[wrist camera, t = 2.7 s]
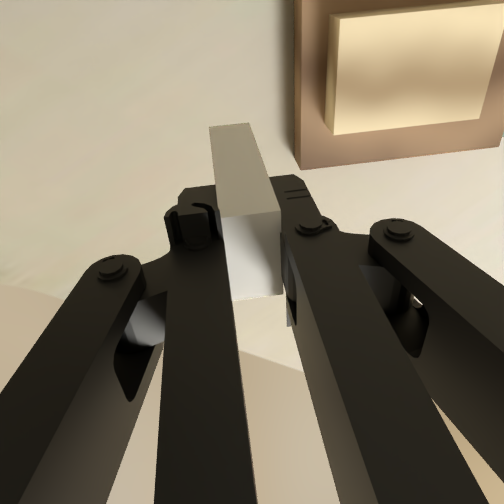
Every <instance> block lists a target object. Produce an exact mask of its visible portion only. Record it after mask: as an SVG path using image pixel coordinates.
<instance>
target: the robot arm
mask: <svg viewBox="0 0 504 504" xmlns="http://www.w3.org/2000/svg"><path fill="white" fill-rule="evenodd" d="M209 132H210V141H211V150H212V159H213V167H214V176H215V185H209V186H200V187H192V188H185V189H184V190H183V191H182V193H181V194H180V195H179V196H178V205H175V206H173V207H172V208H170V209H169V210H168V211H167V212H166V214H165V216H164V221H165V225H166V229H167V233H168V238H169V242H170V251H169V252H168V253H167V254H166V255H164V256H162V257H161V258H159V259H156V260H154V261H151V262H148V263H145V264H142V265H141V263H140V261H139V259H137V258H135V257H133V256H131V255H124V254H121V255H112V256H108V257H106V258H103V259H101V260H99V261H97V262H95V263H94V264H92V265H91V266H90V267H89V268H88V269H87V270H86V271H85V273H84V274H83V275H82V277H81V278H80V280H79V281H78V283H77V284H76V286H75V287H74V288H73V290H72V291H71V293H70V294H69V296H68V297H67V298H66V300H65V301H64V303H63V304H62V306H61V307H60V308H59V310H58V311H57V313H56V314H55V316H54V317H53V319H52V320H51V322H50V323H49V324H48V326H47V327H46V329H45V330H44V331H43V333H42V334H41V336H40V337H39V339H38V340H37V342H36V343H35V344H34V346H33V348H32V349H31V350H30V352H29V353H28V354H27V356H26V357H25V359H24V360H23V362H22V363H21V364H20V366H19V367H18V369H17V370H16V372H15V373H14V375H13V376H12V377H11V379H10V380H9V382H8V383H7V385H6V386H5V388H4V389H3V390H2V392H1V393H0V504H106V502H107V500H108V497H109V494H110V491H111V488H112V486H113V483H114V480H115V478H116V475H117V472H118V469H119V467H120V464H121V461H122V458H123V456H124V453H125V450H126V448H127V445H128V442H129V439H130V437H131V434H132V431H133V428H134V426H135V423H136V420H137V418H138V415H139V412H140V409H141V407H142V404H143V401H144V399H145V396H146V393H147V390H148V388H149V385H150V382H151V380H152V377H153V374H154V371H155V369H156V366H157V363H158V360H159V358H160V355H161V352H162V350H163V344H164V354H163V369H162V385H161V400H160V417H159V431H158V448H157V464H156V478H155V494H154V504H258V501H257V493H256V485H255V478H254V470H253V461H252V454H251V447H250V438H249V431H248V422H247V414H246V406H245V399H244V391H243V383H242V375H241V367H240V359H239V351H238V344H237V336H236V328H235V320H234V312H233V305H232V301H237V300H244V299H251V298H259V297H266V296H273V295H281V294H283V284H284V287H285V291H286V310H287V327H289V326H292V329H293V333H294V337H295V340H296V344H297V347H298V351H299V355H300V358H301V362H302V366H303V369H304V373H305V377H306V380H307V384H308V387H309V391H310V395H311V399H312V402H313V406H314V409H315V413H316V417H317V420H318V424H319V428H320V431H321V435H322V438H323V442H324V446H325V450H326V453H327V457H328V460H329V464H330V468H331V471H332V475H333V478H334V482H335V486H336V490H337V493H338V497H339V501H340V504H489V503H488V501H487V499H486V497H485V496H484V494H483V492H482V490H481V488H480V486H479V485H478V483H477V481H476V479H475V477H474V475H473V474H472V472H471V470H470V468H469V466H468V464H467V463H466V461H465V459H464V457H463V455H462V454H461V452H460V450H459V448H458V446H457V444H456V443H455V441H454V439H453V437H452V435H451V434H450V432H449V430H448V428H447V426H446V424H445V423H444V421H443V419H442V417H441V415H440V414H439V412H438V410H437V408H436V406H435V404H434V402H435V403H436V404H437V405H438V406H439V408H440V409H441V410H442V411H443V412H444V413H445V415H446V416H447V417H448V418H449V419H450V420H451V422H452V423H453V424H454V425H455V426H456V427H457V429H458V430H459V431H460V432H461V433H462V434H463V436H464V437H465V438H466V439H467V440H468V441H469V443H470V444H471V445H472V446H473V447H474V449H475V450H476V451H477V452H478V453H479V454H480V456H481V457H482V458H483V459H484V460H485V461H486V463H487V464H488V465H489V466H490V467H491V468H492V470H493V471H494V472H495V473H496V474H497V475H498V477H499V478H500V479H501V480H502V481H503V483H504V286H503V285H502V284H501V283H499V282H498V281H496V280H495V279H494V278H492V277H491V276H489V275H488V274H487V273H485V272H484V271H483V270H481V269H480V268H478V267H477V266H476V265H474V264H473V263H471V262H470V261H469V260H467V259H466V258H464V257H463V256H462V255H460V254H459V253H458V252H456V251H455V250H453V249H452V248H451V247H449V246H448V245H446V244H445V243H444V242H442V241H441V240H440V239H438V238H437V237H435V236H434V235H433V234H431V233H430V232H428V231H427V230H426V229H424V228H423V227H421V226H420V225H418V224H416V223H414V222H412V221H408V220H404V219H398V218H397V219H396V218H391V219H384V220H380V221H378V222H376V223H374V224H373V225H372V227H371V228H370V234H369V235H365V234H352V233H345V232H341V231H339V229H338V227H337V225H336V224H335V223H334V222H333V221H332V220H331V219H329V218H327V217H325V216H321V214H320V212H319V210H318V208H317V206H316V204H315V202H314V200H313V198H312V197H311V194H310V192H309V191H308V189H307V187H306V185H305V183H304V181H303V180H302V179H300V178H299V177H297V176H295V175H294V174H291V175H283V176H274V177H269V176H268V174H267V171H266V168H265V165H264V163H263V160H262V157H261V154H260V152H259V149H258V146H257V143H256V141H255V138H254V135H253V132H252V130H251V127H250V124H249V123H241V124H232V125H223V126H213V127H209ZM414 296H415V297H416V298H417V299H418V300H419V301H420V302H421V303H422V304H423V305H421V304H420V303H418V302H417V301H416V300H415V299H414ZM431 398H432V399H433V400H434V402H433V401H432V399H431Z"/></svg>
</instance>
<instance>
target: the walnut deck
mask: <svg viewBox="0 0 504 504" xmlns="http://www.w3.org/2000/svg"><path fill="white" fill-rule="evenodd" d="M463 1H473V0H294V146H295V160H296V162H297V164H298V166H299V168H300V170H308V169H316V168H325V167H333V166H342V165H350V164H358V163H367V162H375V161H384V160H392V159H400V158H409V157H417V156H425V155H434V154H442V153H451V152H459V151H467V150H476V149H484V148H493V147H499V144H500V141H501V138H502V135H503V132H504V30H503V34H502V37H501V41H500V45H499V48H498V52H497V55H496V59H495V63H494V66H493V70H492V74H491V77H490V81H489V84H488V88H487V92H486V95H485V99H484V103H483V106H482V110H481V114H480V117H479V119H472V120H463V121H455V122H446V123H437V124H428V125H420V126H411V127H402V128H393V129H385V130H376V131H367V132H358V133H350V134H341V135H333V134H332V133H331V131H330V130H329V129H328V128H327V126H326V125H325V124H324V123H325V99H326V76H327V52H328V29H329V14H337V13H348V12H358V11H368V10H379V9H389V8H400V7H410V6H421V5H431V4H442V3H452V2H463ZM497 1H504V0H497Z"/></svg>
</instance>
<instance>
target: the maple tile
mask: <svg viewBox="0 0 504 504" xmlns="http://www.w3.org/2000/svg"><path fill="white" fill-rule="evenodd" d="M503 30H504V1H497V0H473V1H463V2H452V3H442V4H431V5H421V6H410V7H400V8H389V9H379V10H368V11H358V12H348V13H337V14H329V29H328V52H327V76H326V99H325V123H324V124H325V125H326V126H327V128H328V129H329V130H330V131H331V133H332V134H333V135H341V134H350V133H358V132H367V131H376V130H385V129H393V128H402V127H411V126H420V125H428V124H437V123H446V122H455V121H463V120H472V119H479V117H480V114H481V110H482V106H483V103H484V99H485V95H486V92H487V88H488V84H489V81H490V77H491V74H492V70H493V66H494V63H495V59H496V55H497V52H498V48H499V45H500V41H501V37H502V34H503Z"/></svg>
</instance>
